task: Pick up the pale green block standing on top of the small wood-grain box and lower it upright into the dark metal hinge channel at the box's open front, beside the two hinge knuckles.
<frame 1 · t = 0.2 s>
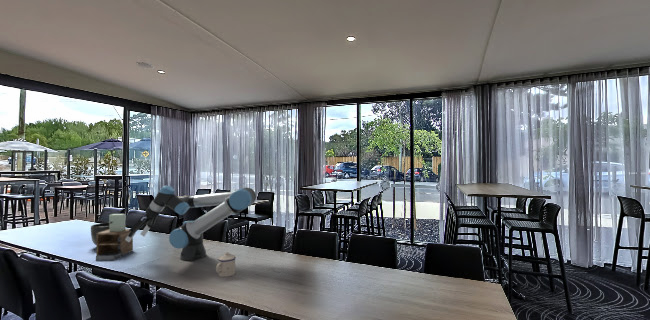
hand: (134, 238, 179), 16 cm above the table, tool tilted 35°, fingers open, 13 cm apart
pale green block: (117, 230, 202), point 15 cm above the table, touching wood-grain box
planter: (105, 246, 218), on the table
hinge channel: (109, 258, 190), on the table
wood-grain box: (115, 253, 201), on the table
teacup with lid: (225, 275, 161), on the table
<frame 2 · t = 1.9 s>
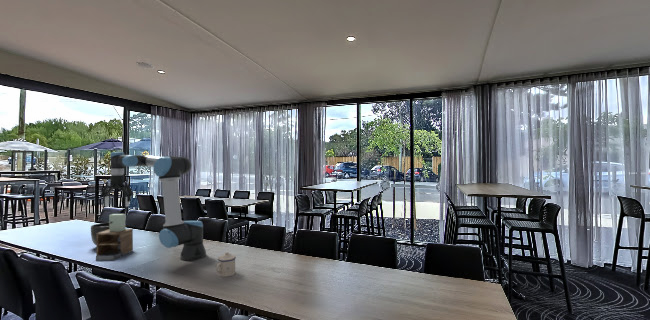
hand: (117, 206, 201), 32 cm above the table, tool pointing down, fingers open, 13 cm apart
nothing on the table moved.
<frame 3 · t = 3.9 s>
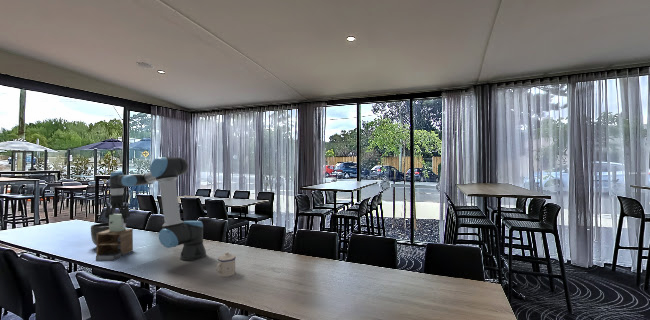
hand: (117, 228, 202), 17 cm above the table, tool pointing down, fingers closed on pale green block, 8 cm apart
pale green block: (117, 230, 202), point 15 cm above the table, touching wood-grain box, gripper
everything else where it was.
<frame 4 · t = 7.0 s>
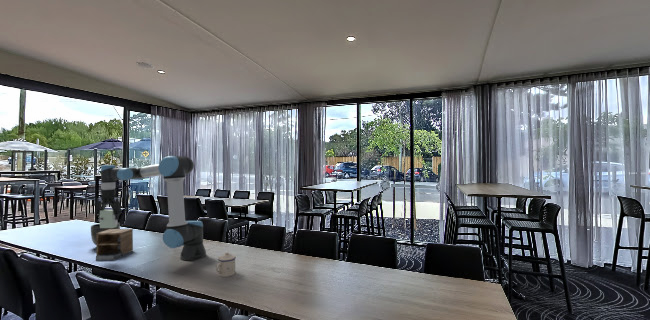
hand: (108, 224, 190), 22 cm above the table, tool pointing down, fingers closed on pale green block, 8 cm apart
pale green block: (108, 227, 190), point 20 cm above the table, touching gripper
everything else where it was.
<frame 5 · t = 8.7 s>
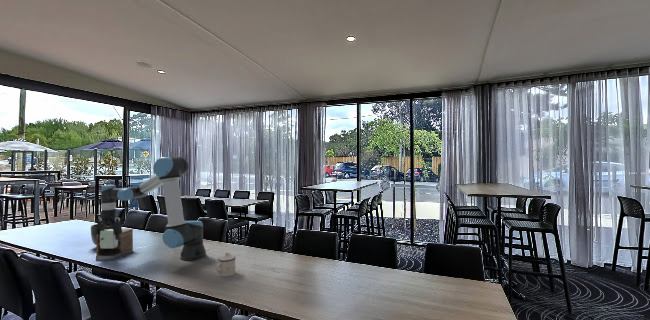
hand: (109, 244, 190), 9 cm above the table, tool pointing down, fingers closed on pale green block, 8 cm apart
pale green block: (109, 247, 190), point 7 cm above the table, touching gripper
everything else where it was.
when the fingers open (4 cm above the table, at t = 10.1 s): pale green block drops 2 cm, resting in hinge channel.
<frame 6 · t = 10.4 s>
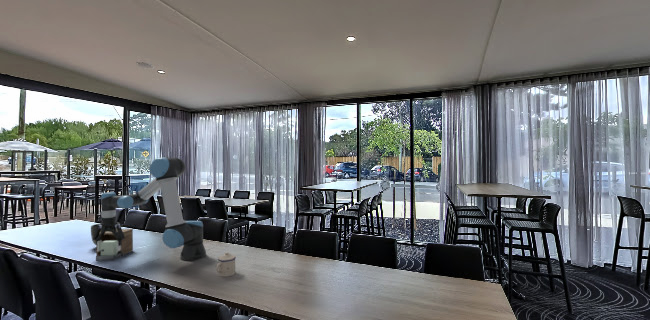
hand: (109, 250, 190), 5 cm above the table, tool pointing down, fingers open, 11 cm apart
pale green block: (109, 258, 190), resting in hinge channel
everything else where it was.
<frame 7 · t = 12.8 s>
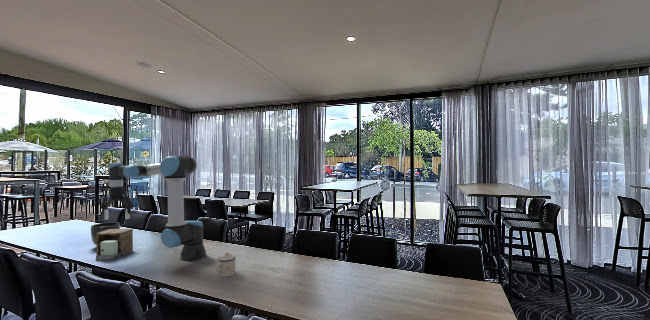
hand: (117, 219, 194), 24 cm above the table, tool pointing down, fingers open, 13 cm apart
nothing on the table moved.
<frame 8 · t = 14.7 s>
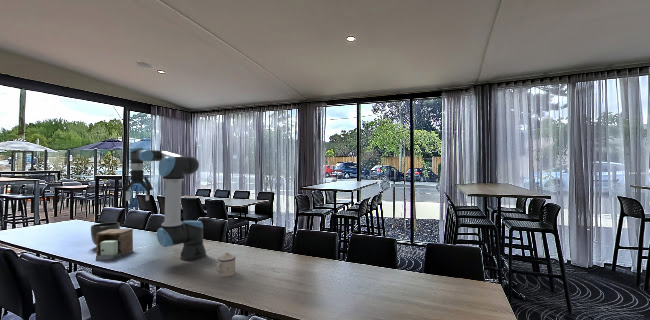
hand: (137, 200, 207), 35 cm above the table, tool pointing down, fingers open, 13 cm apart
nothing on the table moved.
at the end: pale green block 0.1 cm off-centre on the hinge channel, point 0.0 cm above the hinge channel's base; pale green block tilted 0°; the gripper is holding nothing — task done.
